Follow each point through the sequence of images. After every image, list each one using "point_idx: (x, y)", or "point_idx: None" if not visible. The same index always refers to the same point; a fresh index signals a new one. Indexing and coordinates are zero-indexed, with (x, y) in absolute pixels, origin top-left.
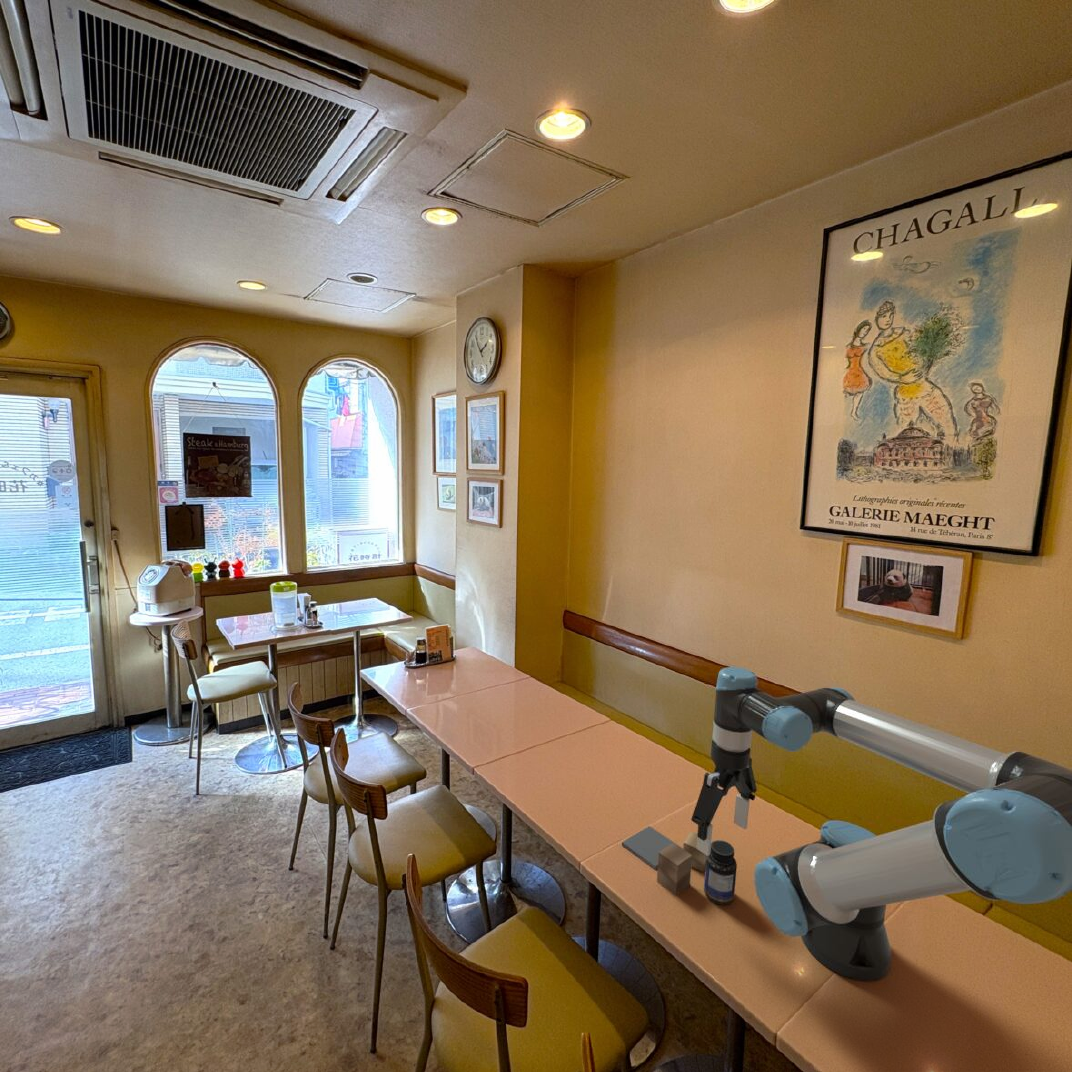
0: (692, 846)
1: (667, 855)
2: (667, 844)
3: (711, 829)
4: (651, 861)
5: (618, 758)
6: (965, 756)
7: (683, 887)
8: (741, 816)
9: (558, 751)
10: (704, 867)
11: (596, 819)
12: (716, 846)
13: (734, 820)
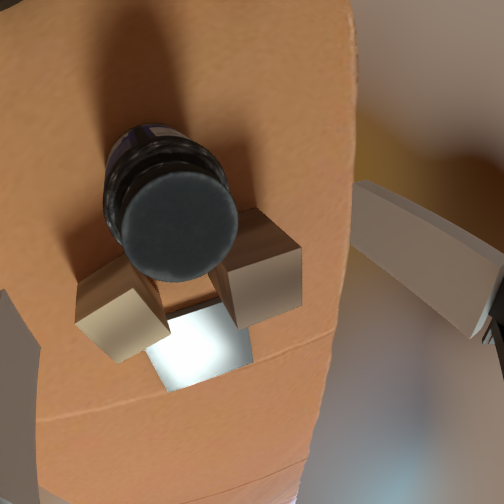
0: (156, 316)
1: (293, 289)
2: (165, 346)
3: (481, 249)
4: None
5: (121, 488)
6: None
7: None
8: (7, 365)
9: (199, 491)
10: (125, 259)
11: (244, 407)
12: (203, 247)
13: (36, 356)
